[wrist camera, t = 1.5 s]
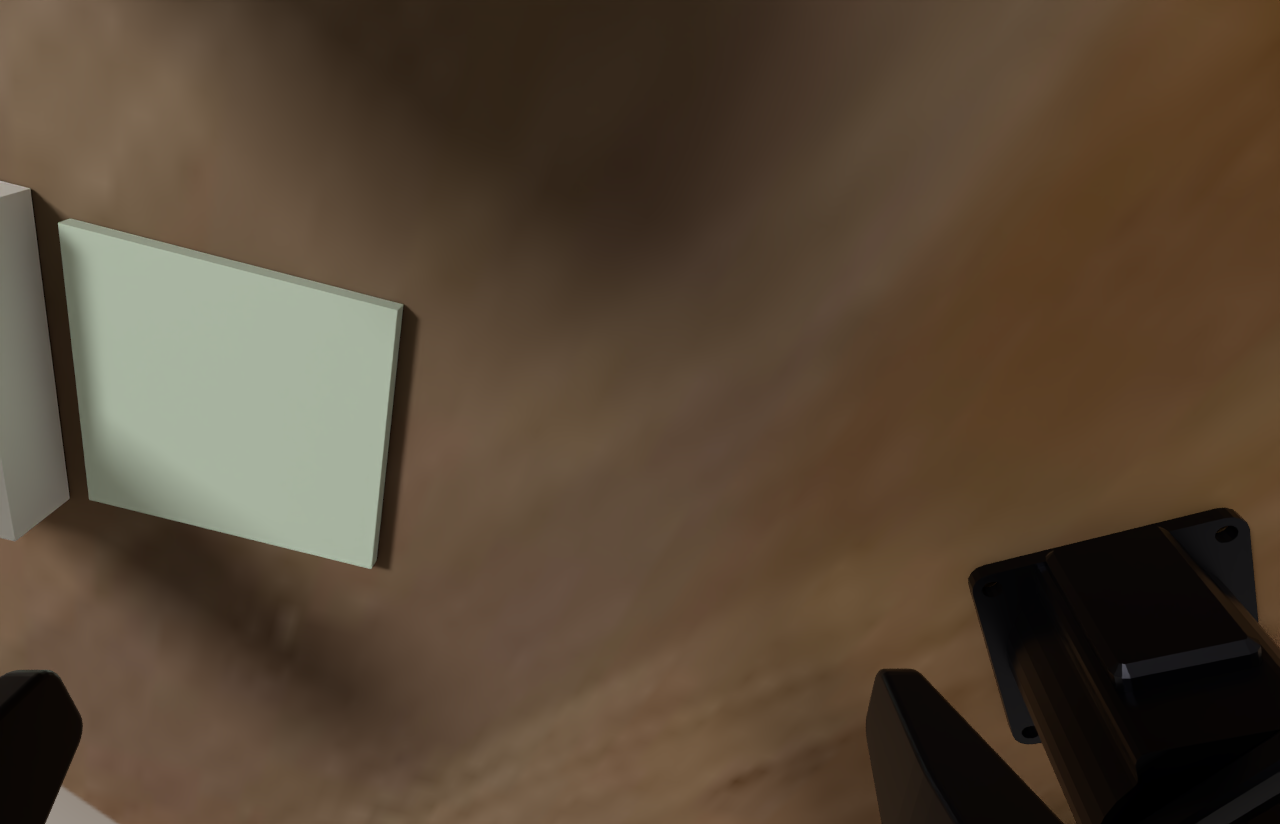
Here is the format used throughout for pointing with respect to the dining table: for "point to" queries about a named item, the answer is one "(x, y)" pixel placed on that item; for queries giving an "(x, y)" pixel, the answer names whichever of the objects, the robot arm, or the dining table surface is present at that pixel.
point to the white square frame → (26, 378)
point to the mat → (230, 392)
